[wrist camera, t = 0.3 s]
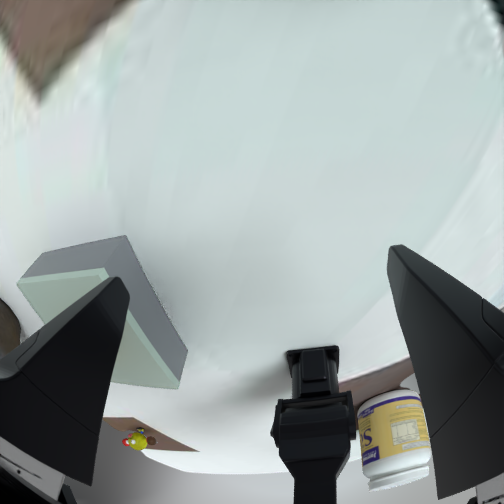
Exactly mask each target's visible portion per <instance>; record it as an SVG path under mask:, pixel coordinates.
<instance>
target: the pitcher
mask: <svg viewBox="0 0 504 504" xmlns="http://www.w3.org/2000/svg"><path fill="white" fill-rule="evenodd" d="M19 345H20V325H19V322H18V319H17V317H16V316H15V314H14V313H13V311H12V310H11V309H10V308H9V307H8V306H7V305H6V304H5V303H4V302H3V301H2V300H0V359H2V358H3V357H4V356H6V355H7V354H8V353H10V352H11V351H12V350H14V349H15V348H16V347H17V346H19Z"/></svg>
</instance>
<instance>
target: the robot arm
mask: <svg viewBox="0 0 504 504" xmlns="http://www.w3.org/2000/svg"><path fill="white" fill-rule="evenodd" d="M387 275H388V279H389V283H390V287H391V291H392V295H393V299H394V304H395V308H396V312H397V316H398V320H399V323H400V326H401V329H402V332H403V335H404V338H405V341H406V345H407V348H408V351H409V354H410V358H411V361H412V365H413V368H414V372H415V376H416V379H417V383H418V387H419V391H420V395H421V399H422V404H423V408H424V412H425V417H426V422H427V427H428V432H429V437H430V438H431V439H430V443H431V449H432V455H433V462H434V469H435V476H436V486H437V496H438V500H439V499H443V498H445V497H449V496H451V495H454V494H457V493H460V492H462V491H465V490H467V489H470V488H472V487H475V486H476V494H477V496H475V497H473V498H471V499H470V500H469V501H468V503H467V504H504V313H503V312H502V311H501V310H499V309H498V308H497V307H495V306H494V305H492V304H491V303H490V302H488V301H487V300H486V299H484V298H483V299H482V297H481V296H480V295H479V294H477V293H476V292H474V291H473V290H471V289H470V288H469V287H467V286H466V285H464V284H463V283H461V282H460V281H459V280H457V279H456V278H454V277H453V276H451V275H450V274H448V273H447V272H445V271H444V270H442V269H441V268H439V267H437V266H436V265H434V264H433V263H431V262H430V261H428V260H427V259H425V258H423V257H422V256H420V255H419V254H417V253H415V252H414V251H412V250H411V249H409V248H407V247H406V246H404V245H393V246H390V248H389V252H388V263H387ZM129 302H130V294H129V292H128V290H127V288H126V286H125V284H124V283H123V281H122V279H121V278H120V277H119V276H113V277H108V278H107V279H106V280H104V281H103V282H101V283H100V284H99V285H97V286H96V287H94V288H93V289H92V290H90V291H89V292H88V293H86V294H85V295H83V296H82V297H81V298H79V299H78V300H77V301H75V302H74V303H73V304H71V305H70V306H69V307H67V308H66V309H65V310H64V311H62V312H61V313H60V314H58V315H57V316H56V317H54V318H53V319H52V320H51V321H49V322H48V323H47V324H46V325H44V326H43V327H42V328H41V329H39V330H38V331H37V332H35V333H34V334H33V335H32V336H30V337H29V338H28V339H27V340H25V341H24V342H23V343H21V344H20V345H19V346H17V347H16V348H15V349H14V350H12V351H11V352H10V353H8V354H7V355H6V356H4V357H3V358H2V359H0V504H77V503H76V501H75V498H74V496H73V494H72V491H71V489H70V486H68V485H66V484H64V483H63V481H64V477H65V475H66V476H69V477H70V478H73V479H75V480H77V481H79V482H81V483H84V484H86V485H89V486H92V481H93V473H94V466H95V459H96V453H97V445H98V440H99V434H100V428H101V423H102V418H103V413H104V408H105V404H106V399H107V395H108V390H109V386H110V382H111V378H112V374H113V370H114V366H115V362H116V358H117V354H118V351H119V347H120V344H121V340H122V336H123V332H124V327H125V322H126V317H127V312H128V307H129ZM287 360H288V364H289V369H290V374H291V378H292V399H284V400H283V399H278V404H277V405H276V410H275V417H274V422H273V426H272V429H271V432H270V434H271V436H272V437H273V438H274V441H275V444H276V447H277V448H279V456H280V458H281V459H282V461H283V462H284V464H285V465H286V467H287V468H288V470H289V472H290V473H291V475H292V476H293V477H294V504H337V498H336V497H337V494H336V493H337V492H336V480H337V478H338V476H339V475H340V473H341V471H342V470H343V468H344V466H345V465H346V463H347V461H348V459H349V457H350V448H351V444H350V440H356V423H355V414H354V407H353V401H352V394H351V390H349V391H346V392H342V393H339V386H338V377H337V374H338V368H339V347H338V346H330V347H322V348H313V349H303V350H293V351H288V352H287Z"/></svg>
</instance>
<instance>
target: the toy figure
mask: <svg viewBox="0 0 504 504" xmlns="http://www.w3.org/2000/svg"><path fill="white" fill-rule="evenodd" d="M137 429H139V430H138V432H135V433H132V434H129V435H128V437H129V438H128V439H124V440H123V441H122V442H123V444H124V445H125V446H131V447H132V448H133V449H135V450H143V449H144V448H145V447H146V446H147V443H148V444H149V445H155V444H156V439H155V438H154V437H152V436H150V437H147V439H146V437H145V436H144V435H143V431H144V429H143V428H137ZM141 429H142V430H141ZM140 431H141V433H140Z"/></svg>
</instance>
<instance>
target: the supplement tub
mask: <svg viewBox="0 0 504 504" xmlns="http://www.w3.org/2000/svg"><path fill="white" fill-rule="evenodd" d="M357 417H358V424H359V434H360V444H361V456H362V469H363V474H364V475H365V476H366V477H367V478H370V482H369V483H368V485H369V491H377V490H383V489H388V488H392V487H396V486H400V485H403V484H407V483H410V482H413V481H416V480H419V479H421V478H424V477H426V476H428V475H429V466H427V465H426V463H427V462H428V460H429V459H430V456H431V449H430V443H429V438H428V432H427V427H426V423H425V418H424V413H423V409H422V405H421V401H420V397H419V395H418V394H417V393H416V392H415V391H413V390H406V389H404V390H395V391H390V392H386V393H383V394H381V395H378V396H376V397H373V398H371V399H370V400H368V401H366V402H365V403H364V404H363V405H362V406H361V407H360V408H359V410H358V416H357Z"/></svg>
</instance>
